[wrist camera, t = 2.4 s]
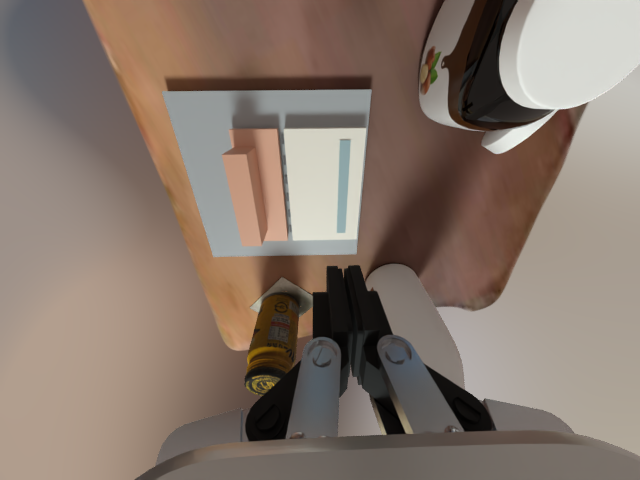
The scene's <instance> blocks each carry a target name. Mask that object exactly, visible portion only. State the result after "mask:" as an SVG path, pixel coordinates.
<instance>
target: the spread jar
mask: <svg viewBox="0 0 640 480" xmlns="http://www.w3.org/2000/svg"><path fill="white" fill-rule="evenodd" d="M639 64H640V0H445V1H444V3H443V4H442V6H441V9H440V11H439V13H438V15H437V16H436V19H435V21H434V23H433V25H432V27H431V30H430V32H429V35H428V37H427V40H426V43H425V46H424V49H423V52H422V56H421V61H420V67H419V78H418V93H419V100H420V105H421V109H422V110H423V112H424V113H425V115H426V116H427V117H429V118H430V119H432V120H434V121H435V122H438V123H441V124H444V125H448V126H452V127H456V128H461V129H467V130H474V131H486V133H485V134H484V136H483V138H482V142H481V143H482V146H483V147H485V148H487V149H488V150H490V151H491V152H493V153H494V154H500V153H503V152H505V151H508V150H509V149H511V148H513V147H515V146H516V145H518V144H519V143H521V142H522V141H524V140H525V139H526V138H528V137H529V136H530V135H531V134H533V133H534V132H535V131H536V130H537V129H539V128H540V127H541V126H542V125H543V124H544V123H545V122H546V121H547V120H548V119H549V118H551V117H552V116H553V114H554V113H555V112H556V111H557V110H558V109H567V108H571V107H575V106H579V105H581V104H584V103H586V102H589V101H591V100H593V99H595V98H597V97H598V96H600V95H602V94H603V93H605V92H607V91H608V90H610V89H611V88H612V87H614V86H615V85H616V84H618V83H619V82H620V81H622V80H623V79H624V78H625V77H626V76H627V75H628V74H630V73H631V72H632V71H633V70H634V69H635V68H636V67H637V66H638V65H639Z"/></svg>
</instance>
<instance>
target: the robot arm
mask: <svg viewBox="0 0 640 480" xmlns="http://www.w3.org/2000/svg"><path fill="white" fill-rule="evenodd" d="M350 364H351V370H352V375H353V377H357V380H358V385H362V388H363V389H364V390H365V391H367V392H368V393H369V396H370V400H371V404H372V407H373V410H374V412H375V415H376V418H377V421H378V424H379V427H380V430H381V433H382V435H371V436H347V437H338V415H339V414H338V413H339V398H340V397H341V395H342V394H343V393H344V392H345V390H346V389H347V383H348V377H349V373H350ZM135 480H640V456H638V455H636V454H634V453H632V452H629V451H627V450H625V449H622V448H620V447H617V446H614V445H612V444H609V443H607V442H604V441H601V440H597V439H594V438H590V437H587V436H583V435H578V434H575V433H574V432H573V431H572V429H571V428H570V427H569V426H568V425H567V424H566V423H564V422H563V421H562V420H561V419H560V418H558V417H556V416H555V415H553V414H552V413H549V412H546V411H543V410H539V409H533V408H529V407H524V406H519V405H514V404H510V403H504V402H500V401H495V400H490V399H484V400H483V401H481V400H478V399H477V398H476V397H474V396H473V395H472V394H470V393H468V392H467V391H466V390H464V389H463V388H461V387H459V386H458V385H456V384H455V383H453V382H452V381H450V380H449V379H447V378H446V377H444V376H443V375H441V374H439V373H438V372H436V371H435V370H433V369H432V368H430V367H429V366H427V365H426V364H424V363H423V362H422V360H421V359H420V357H419V355H418V354H417V352H416V350H415V349H414V347H413V346H412V345H411V343H410V342H409V341H407V340H406V339H405V338H402V337H400V336H397V335H393V333H392V330H391V327H390V324H389V322H388V319H387V316H386V314H385V311H384V308H383V305H382V303H381V300H380V297H379V295H378V292H377V291H368V290H367V287H366V284H365V281H364V278H363V274H362V271H361V268H360V266H359V265H354V266H348V268H347V269H344V278H343V273H342V269H338V267H337V266H327V292H313V339H312V340H311V341H309V342H308V343H307V344H306V346H305V348H304V351H303V355H302V360H301V361H299V362H298V363H297V364H296V365H295V366H294V367H293V368H292V369H291V370H290V371H289V372H288V373H287V374H286V375H285V376H283V377H282V378H281V379H280V380H279V381H278V382H277V383H276V384H275V385H274V386H273V387H272V388H271V389H270V390H269V391H267V392H266V393H265V394H264V395H263V396H262V397H261V398H260V399H259V400H258V401H257V402H256V403H255V404H254V405H253V406H252V407H251V408H248V409H245V410H242V409H241V408H239V409H235V410H232V411H229V412H225V413H222V414H219V415H215V416H212V417H208V418H205V419H201V420H198V421H195V422H191V423H188V424H185V425H183V426H181V427H179V428H177V429H176V430H175V431H173V432H172V433H171V434H170V435H169V436H168V437H167V439H166V440H165V442H164V443H163V445H162V447H161V449H160V452H159V454H158V458H157V462H156V466H155V467H153V468H151V469H149V470H148V471H146V472H145V473H144V474H142V475H141V476H139V477H137V478H136V479H135Z"/></svg>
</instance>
